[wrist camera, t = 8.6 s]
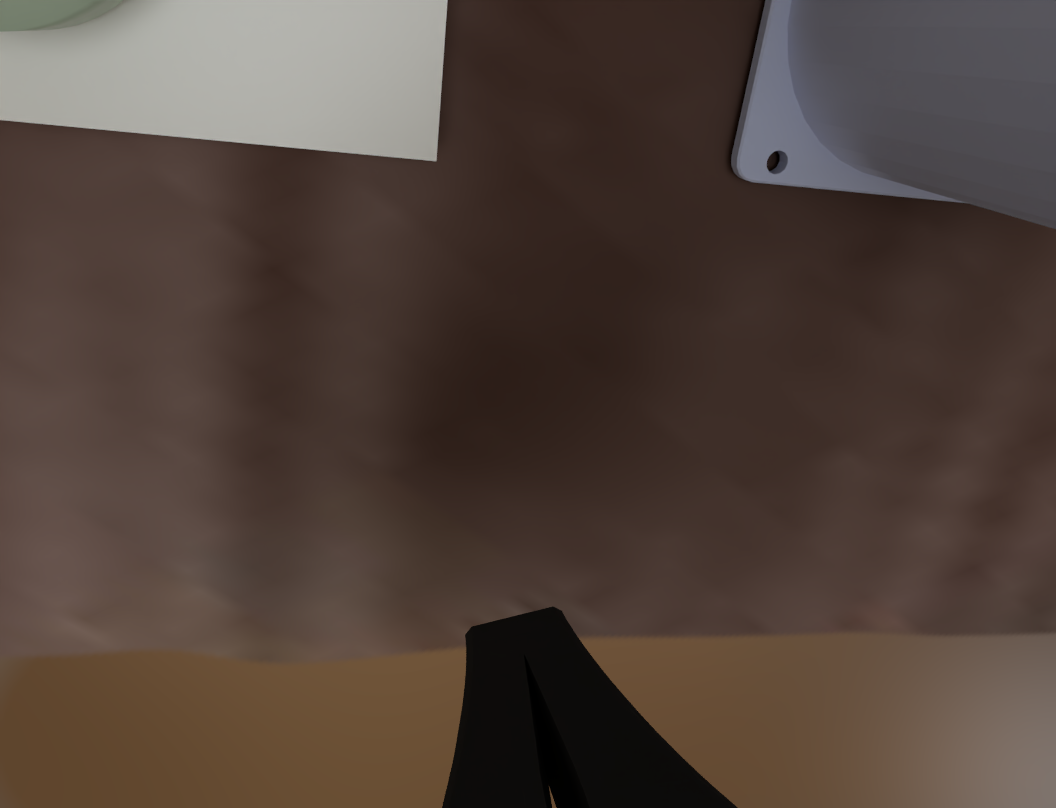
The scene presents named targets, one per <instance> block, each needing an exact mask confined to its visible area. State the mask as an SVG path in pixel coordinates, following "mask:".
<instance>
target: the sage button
mask: <svg viewBox="0 0 1056 808" xmlns="http://www.w3.org/2000/svg"><path fill="white" fill-rule="evenodd" d="M122 1H123V0H0V32H5V31H40V30H52V29H61V28H66V27H70V26H75V25H79V24H82V23H84V22H87V21H89V20H92V19H94V18H97V17H99V16H101V15H102V14H104V13H106V12H108V11H109V10H111V9H113V8H114V7H116V6H117V5H118V4H119V3H121V2H122Z"/></svg>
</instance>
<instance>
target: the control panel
mask: <svg viewBox="0 0 1056 808" xmlns="http://www.w3.org/2000/svg"><path fill="white" fill-rule="evenodd" d="M447 1H448V0H123V1H122V2H121V3H119V4H118V5H117V6H116V7H114V8H113V9H111V10H109V11H108V12H106V13H104V14H102V15H101V16H99V17H97V18H94V19H92V20H89V21H87V22H84V23H82V24H79V25H75V26H70V27H66V28H61V29H52V30H40V31H5V32H0V120H6V121H17V122H27V123H38V124H49V125H59V126H70V127H80V128H91V129H101V130H112V131H122V132H133V133H143V134H154V135H164V136H175V137H186V138H196V139H207V140H217V141H228V142H238V143H249V144H259V145H270V146H280V147H291V148H301V149H312V150H322V151H333V152H344V153H354V154H365V155H375V156H386V157H396V158H407V159H417V160H428V161H436V159H437V145H438V131H439V116H440V102H441V87H442V73H443V58H444V44H445V30H446V15H447Z"/></svg>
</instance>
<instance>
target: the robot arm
mask: <svg viewBox="0 0 1056 808" xmlns="http://www.w3.org/2000/svg"><path fill="white" fill-rule="evenodd" d="M774 151H778V153H779V155H780V161H779V163H778V165H777V167H776V168H774V169H773V170H772V171H769V170H768V169H767V160H768V158H769V156H770V155H771V154H772V153H773V152H774ZM731 166H732V169H733V171H734V173H735V174H736V175H737V176H738V177H739V178H742V179H744V180H747V181H750V182H755V183H766V184H776V185H786V186H796V187H807V188H817V189H827V190H837V191H847V192H858V193H868V194H878V195H888V196H899V197H909V198H919V199H929V200H939V201H950V202H960V203H969V204H972V205H975V206H979V207H982V208H986V209H989V210H992V211H996V212H999V213H1003V214H1006V215H1009V216H1013V217H1016V218H1020V219H1023V220H1026V221H1030V222H1033V223H1037V224H1040V225H1043V226H1047V227H1050V228H1054V229H1056V0H765V5H764V9H763V14H762V19H761V23H760V28H759V32H758V37H757V41H756V46H755V51H754V55H753V60H752V64H751V69H750V74H749V78H748V83H747V87H746V92H745V96H744V101H743V106H742V110H741V115H740V119H739V124H738V128H737V133H736V138H735V142H734V147H733V151H732V156H731ZM465 637H466V677H465V689H464V698H463V706H462V712H461V718H460V724H459V730H458V737H457V743H456V748H455V754H454V759H453V764H452V768H451V772H450V777H449V781H448V786H447V789H446V794H445V798H444V802H443V806H442V808H552V804H551V797H550V791H549V787H550V790H551V793H552V795H553V799H554V801H555V804H556V807H557V808H737V807H736V806H735V805H734V804H733V803H732V802H730V801H729V800H728V799H727V798H726V797H725V796H724V795H722V794H721V793H720V792H719V791H718V790H717V789H716V788H714V787H713V786H712V785H711V784H710V783H709V782H708V781H707V780H705V779H704V778H703V777H702V776H701V775H700V774H699V773H698V772H697V771H696V770H695V769H694V768H693V767H692V766H691V765H689V764H688V763H687V762H686V761H685V760H684V759H683V758H682V757H681V756H680V755H679V754H678V753H677V752H676V751H675V750H674V749H673V748H672V747H671V746H670V745H669V744H668V743H667V742H666V741H665V740H664V739H663V738H662V737H661V736H660V735H659V734H658V733H657V732H656V731H655V730H654V728H653V727H652V726H651V725H650V724H649V723H648V722H647V721H646V720H645V719H644V718H643V717H642V716H641V715H640V713H639V712H638V711H637V710H636V709H635V708H634V707H633V705H631V703H630V702H629V701H628V700H627V699H626V698H625V697H624V695H623V694H622V693H621V692H620V691H619V689H617V687H616V686H615V685H614V684H613V683H612V681H611V680H610V679H609V678H608V676H607V675H606V674H605V673H604V672H603V670H602V669H601V668H600V666H599V665H598V664H597V663H596V661H595V660H594V659H593V657H592V656H591V655H590V653H589V652H588V651H587V649H586V648H585V647H584V645H583V644H582V642H581V641H580V640H579V638H578V637H577V635H576V634H575V632H574V631H573V629H572V628H571V626H570V625H569V623H568V621H567V620H566V618H565V616H564V614H563V613H562V611H561V610H559V609H557V608H555V607H549V608H545V609H541V610H537V611H533V612H529V613H525V614H521V615H517V616H513V617H509V618H505V619H501V620H497V621H493V622H489V623H485V624H481V625H477V626H473V627H471V628H470V630H469V631H468V632H467V633H466V634H465ZM548 784H549V785H548Z"/></svg>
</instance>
